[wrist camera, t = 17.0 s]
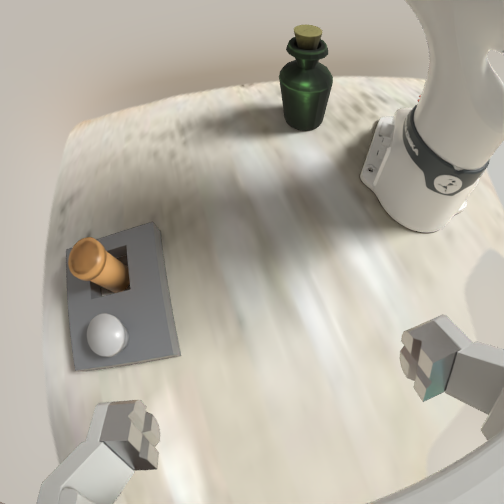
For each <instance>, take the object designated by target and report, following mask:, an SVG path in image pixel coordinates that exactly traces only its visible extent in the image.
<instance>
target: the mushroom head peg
mask: <svg viewBox="0 0 504 504" xmlns="http://www.w3.org/2000/svg"><path fill="white" fill-rule="evenodd" d="M68 265H69V269H70V271H71V273H72V274H73V275H74V276H75V277H77V278H79V279H81V280H83V281H92V282H94V283H96V284H98V285H100V286H102V287H104V288H106V289H108V290H110V291H112V292H114V293H118V292H122V291H124V290H125V289H126V288H127V287H128V285H129V284H130V279H129V269H128V267H127V266H126V265H125V264H123V263H122V262H121V261H119V260H118V259H116V258H115V257H114V256H112V255H111V254H109V253H108V252H107V251H106V250H105V248H104V246H103V245H102V244H101V243H100V242H98V241H97V240H96V239H94V238H91V237H87V238H83V239H81V240H80V241H78V242H77V243H76V244H75V245H74V247H73V248H72V250H71V252H70V255H69V260H68Z"/></svg>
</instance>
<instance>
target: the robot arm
mask: <svg viewBox="0 0 504 504" xmlns="http://www.w3.org/2000/svg"><path fill="white" fill-rule="evenodd" d="M405 1H406V3H407V4H408V5H409V6H410V8H411V9H412V10H413V12H414V13H415V15H416V17H417V18H418V20H419V22H420V24H421V26H422V29H423V31H424V34H425V37H426V40H427V44H428V49H429V69H428V74H427V78H426V82H425V85H424V88H423V92H422V94H421V96H419V97H420V100H418V104H417V105H416V106H415V107H414V108H400V109H398V110H397V111H396V112H395V115H394V116H388V117H382V118H380V119H379V122H378V124H377V127H376V130H375V133H374V136H373V139H372V142H371V145H370V148H369V151H368V154H367V157H366V160H365V163H364V166H363V168H362V171H361V174H360V178H361V180H362V182H363V183H364V184H365V185H366V186H367V187H369V188H370V189H371V190H372V191H373V192H374V193H375V194H376V196H377V198H378V199H379V201H380V203H381V205H382V206H383V208H384V209H385V210H386V212H387V213H388V214H389V215H390V216H391V217H392V218H393V219H394V220H396V221H397V222H398V223H400V224H401V225H403V226H405V227H407V228H409V229H411V230H414V231H418V232H435V231H438V230H440V229H442V228H444V227H445V226H446V225H447V224H448V223H449V221H450V220H451V219H452V217H453V216H454V215H455V214H458V213H460V212H462V211H463V210H464V209H465V208H466V206H467V201H466V200H467V198H468V197H469V195H470V194H471V193H472V191H473V190H474V188H475V187H476V185H477V184H478V182H479V178H480V177H481V176H482V174H483V173H484V172H485V169H486V168H487V166H488V164H489V160H490V158H491V156H492V155H493V154H494V153H495V151H496V150H497V149H498V147H499V146H500V145H501V143H502V142H503V141H504V84H503V82H502V80H501V79H500V78H499V76H498V75H497V73H496V72H495V71H494V69H493V68H492V66H491V64H490V62H489V60H488V58H487V54H488V53H489V51H491V50H493V51H496V52H498V53H501V54H503V55H504V0H405ZM369 170H371V171H372V172H370V171H369ZM401 342H402V343H403V344H404V347H403V348H402V350H401V351H400V363H401V367H402V370H403V372H404V374H405V375H406V377H407V378H408V379H411V380H414V381H415V382H414V389H415V391H416V392H417V394H418V395H419V397H420V398H421V400H422V401H423V402H424V401H426V400H428V399H430V398H433V397H435V396H437V395H439V394H441V393H443V392H445V393H447V394H448V395H450V396H452V397H454V398H456V399H458V400H460V401H462V402H464V403H466V404H468V405H470V406H472V407H474V408H476V409H478V410H480V411H482V412H484V413H486V414H488V417H487V419H486V420H485V422H484V424H483V425H482V428H481V431H482V433H483V434H484V436H485V437H486V439H487V440H488V441H487V442H485V443H484V444H482V445H481V446H479V447H478V448H476V449H475V450H473V451H472V452H470V453H469V454H467V455H465V456H464V457H462V458H461V459H459V460H457V461H456V462H454V463H452V464H450V465H449V466H447V467H445V468H443V469H442V470H440V471H438V472H436V473H434V474H433V475H430V476H429V477H427V478H425V479H423V480H421V481H419V482H417V483H414V484H412V485H410V486H408V487H406V488H404V489H402V490H399V491H397V492H395V493H392V494H390V495H388V496H385V497H383V498H380V499H378V500H375V501H372V502H370V503H367V504H504V349H501V348H498V347H494V346H491V345H487V344H484V343H481V342H478V341H476V342H474V343H473V342H472V341H471V340H470V339H469V338H468V337H467V336H466V335H465V334H464V333H463V332H462V331H461V330H460V329H459V328H458V327H457V326H456V325H455V324H454V323H453V322H452V321H451V320H450V319H449V318H448V317H447V316H446V315H440V316H438V317H436V318H434V319H432V320H430V321H427V322H425V323H422V324H420V325H418V326H415V327H413V328H411V329H408V330H406V331H404V332H403V334H402V339H401ZM159 441H160V429H159V425H158V422H157V420H156V419H155V417H154V416H153V415H152V414H150V413H148V412H146V405H145V404H144V403H143V402H142V400H130V401H117V402H104V403H98V404H97V405H96V407H95V410H94V414H93V417H92V421H91V424H90V427H89V431H88V435H87V438H86V442H81V443H80V444H79V445H78V446H77V447H76V449H75V450H74V451H73V452H72V453H71V454H70V455H69V456H68V457H67V458H66V459H65V460H64V461H63V462H62V463H61V464H60V465H59V466H58V467H57V468H56V469H55V470H54V471H53V472H52V473H51V474H50V475H49V476H48V477H47V478H46V479H45V480H44V481H43V482H42V484H41V488H40V492H39V496H38V500H37V504H113V503H114V502H115V500H116V499H117V497H118V496H119V494H120V493H121V491H122V490H123V488H124V487H125V485H126V484H127V482H128V481H129V479H130V478H131V476H132V475H133V473H134V470H153V469H157V467H158V456H159V452H158V451H157V449H156V448H155V446H156V445H157V444H158V443H159ZM0 504H4V503H2V502H0Z"/></svg>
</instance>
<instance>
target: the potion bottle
mask: <svg viewBox="0 0 504 504" xmlns="http://www.w3.org/2000/svg"><path fill="white" fill-rule="evenodd" d="M294 33H295V37H293V38H292V39H291V40H290V41H289V43H288V45H287V49H286V50H287V52H288V53H289V54H290V55H292V56H293V57H295V59H296V60H294V61H291V62H289V63H287V64H286V65H285V66H284V67H283V68H282V70H281V71H280V75H279V80H280V87H281V94H282V101H283V109H284V116H285V119H286V122H287V123H288V124H289V125H290V126H291V127H293V128H296V129H298V130H305V131H307V130H313V129H315V128H317V127H319V126H320V124H321V123H322V121H323V117H324V114H325V110H326V106H327V102H328V98H329V95H330V91H331V87H332V83H333V77H332V75H331V73H330V72H329V70H328V68H327V67H326V66H324V65H323V64H321V63H319V62H318V60H319V59H322V58H325V57H326V56H327V55H328V48H327V45H326V43H325V42H324V41H323V40H321V39H320V38H321V35H322V30H321V29H320V28H318V27H316V26H313V25H299V26H296V27H295V28H294Z"/></svg>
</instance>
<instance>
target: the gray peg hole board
mask: <svg viewBox="0 0 504 504" xmlns="http://www.w3.org/2000/svg"><path fill="white" fill-rule="evenodd" d="M96 240H97V241H98V242H100V243H101V244H102V245H103V246H104V248H105V250H106V251H107V252H108V253H109V254H111V255H112V256H114V257H115V258H118V257H121V256H125V255H127V259H128V269H129V279H130V287H131V289H130V290H126V291H122V292H118V293H114V294H110V295H106V296H103V297H101V288H100V285H98V284H96V283H94V282H92V281H83V280H81V279H79V278H77V277H75V276H74V275H73V274H72V273H71V271H70V269H69V265H68V260H69V255H70V252H71V250H72V248H70V249H67V250H66V272H67V298H68V313H69V325H70V335H71V344H72V352H73V359H74V366H75V370H77V371H91V370H98V369H106V368H113V367H119V366H126V365H132V364H138V363H144V362H150V361H156V360H161V359H167V358H172V357H177V356H181V352H180V348H179V343H178V338H177V333H176V328H175V322H174V317H173V312H172V306H171V300H170V294H169V288H168V282H167V276H166V269H165V263H164V256H163V249H162V241H161V234H160V230H159V229H158V227H157V226H156V225H155V224H154V223H153V222H150V223H147V224H144V225H140V226H137V227H134V228H131V229H128V230H124V231H121V232H118V233H115V234H112V235H109V236H106V237H103V238H100V239H96Z"/></svg>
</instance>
